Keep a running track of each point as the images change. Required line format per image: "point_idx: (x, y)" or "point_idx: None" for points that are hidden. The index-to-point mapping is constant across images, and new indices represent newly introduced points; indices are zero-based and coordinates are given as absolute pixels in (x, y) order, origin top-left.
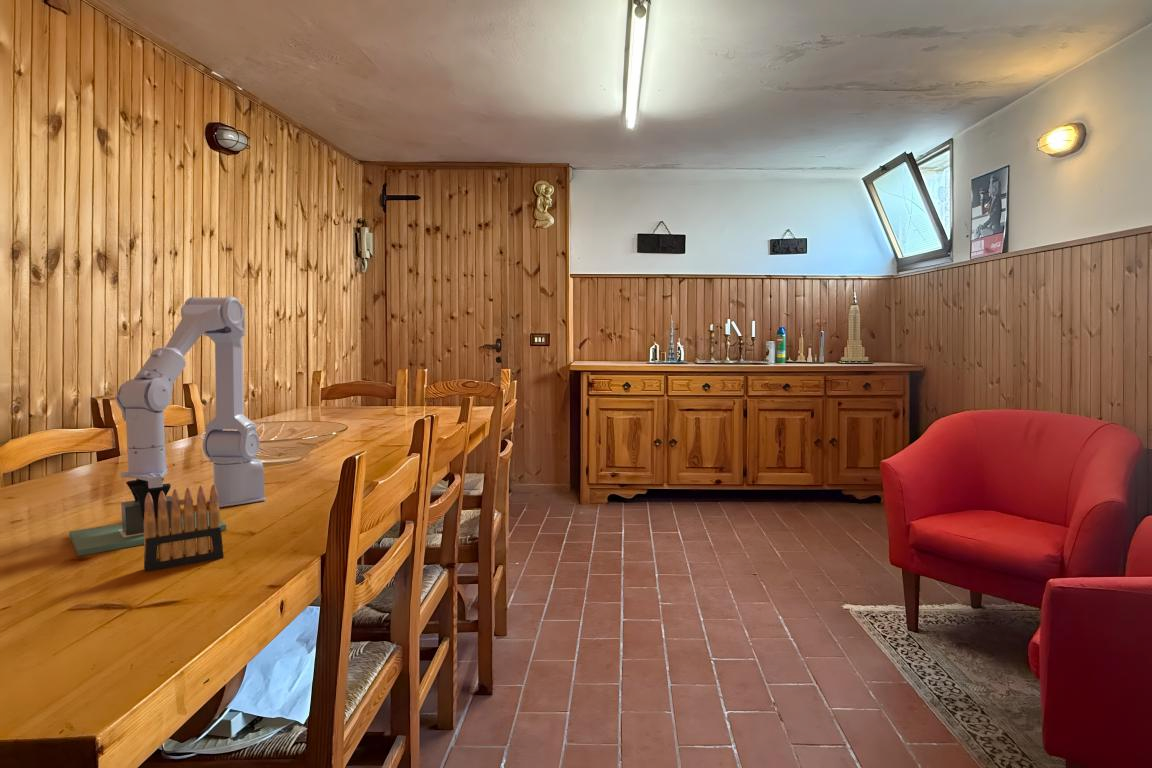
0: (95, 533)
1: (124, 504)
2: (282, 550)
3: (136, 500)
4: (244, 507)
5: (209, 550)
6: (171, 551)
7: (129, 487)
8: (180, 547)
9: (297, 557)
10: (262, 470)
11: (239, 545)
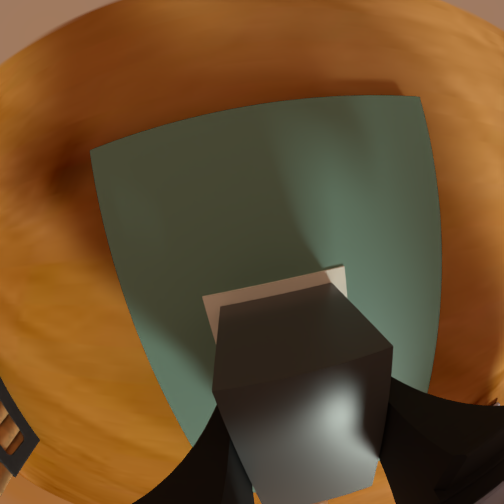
0: (344, 179)
1: (317, 377)
2: (59, 484)
3: (392, 406)
4: None
5: (23, 434)
6: None
7: (458, 431)
8: None
9: (33, 477)
10: None
11: (90, 472)
